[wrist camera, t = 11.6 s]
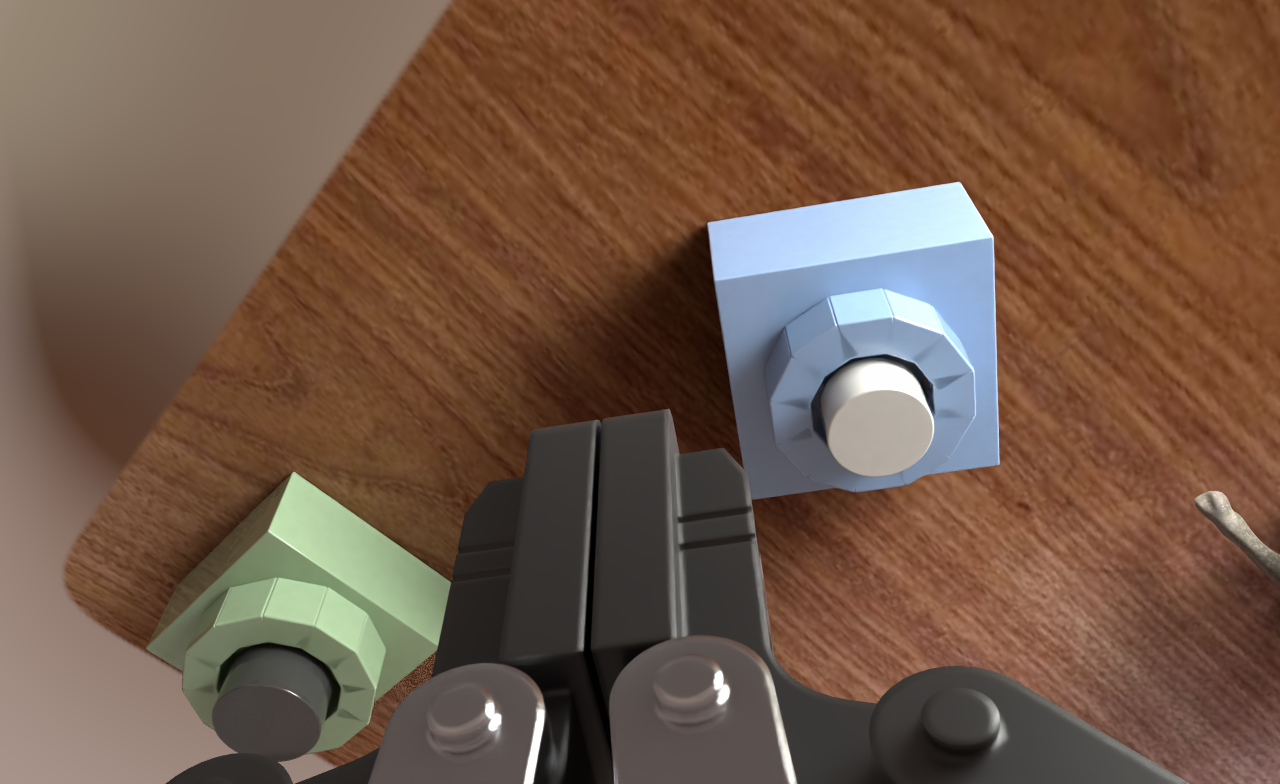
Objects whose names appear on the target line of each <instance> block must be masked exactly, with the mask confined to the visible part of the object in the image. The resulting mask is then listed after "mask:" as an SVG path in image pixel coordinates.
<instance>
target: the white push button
mask: <svg viewBox="0 0 1280 784" xmlns="http://www.w3.org/2000/svg"><path fill="white" fill-rule="evenodd" d="M820 414H821V418H822V423H823V427H824V431H825V435H826V439H827V444H828V447H829V450H830V452H831V454H832V456H833V457H834V459H835V460H836V461H837V462H838V463H839V464H840V465H841V466H843V467H844V468H845V469H847V470H849V471H851V472H853V473H855V474H858V475H862V476H868V477H883V476H889V475H893V474H896V473H899V472H901V471H904V470H906V469H907V468H909V467H911V466H912V465H914V464H915V463H916V462H917V461H918V460H920V459H921V457H922V456H923V455H924V454H925V453H926V451H927V450H928V448H929V446H930V444H931V441H932V438H933V434H934V420H933V417H932V414H931V411H930V408H929V406H928V403H927V400H926V398H925V395H924V393H923V390H922V387H921V385H920V383H919V381H918V379H917V377H916V376H915V374H914V373H913V372H912V371H911V370H910V369H908V368H907V367H906V366H904V365H902V364H901V363H899V362H896V361H894V360H890V359H885V358H866V359H861V360H858V361H855V362H852V363H850V364H848V365H846V366H844V367H843V368H841V369H840V370H838V371H837V372H836V373H835V374H834V375H833V376H832V377H831V378H830V379H829V381H828V382H827V384H826V385H825V387H824V389H823V391H822V394H821V398H820Z"/></svg>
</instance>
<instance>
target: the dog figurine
mask: <svg viewBox="0 0 1280 784" xmlns="http://www.w3.org/2000/svg"><path fill="white" fill-rule="evenodd" d="M1194 502H1195V504H1196V506H1197V508H1198V509H1199V511H1200V512H1201V513H1202V514H1203V515H1205V516H1206V517H1207V518H1208V519H1210V520H1211V521H1212V522H1213V523H1214V524H1215V525H1216V526H1217V527H1218V529H1219V530H1220V531H1221V532H1222V533H1223V535H1225V536H1226V537H1227V538H1228V539H1230V540H1231V541H1233V542H1234V543H1235V544H1236V545H1237V546H1239V547H1240V548H1241V549H1242V550H1243V551H1244V552H1245V553H1246V555H1247V556H1248V557H1249V558H1250V559H1251V560H1252V561H1253V562H1254V564H1255V565H1256V566H1257V567H1258V568H1259V569H1260V570H1261V571H1262V572H1263V573H1264V574H1265V575H1266V576H1267V577H1268V578H1269V579H1270V580H1271V581H1272V582H1273V583H1274V584H1275V585H1276V586H1277V587H1278V588H1279V589H1280V554H1278V553H1276V552H1274V551H1273V550H1271V549H1270V548H1268V547H1267V546H1266V545H1264V544H1263V543H1262V542H1261V541H1260V540H1259V539H1258V538H1257V537H1256V535H1255V534H1254V533H1253V532H1252V531H1251V530H1250V528H1249V527H1248V525H1247V524H1246V522H1245V521H1244V520H1243V518H1242V517H1241V516H1240V515H1239V514H1238V513H1236V512H1234V511H1233V510H1232V508H1231V506H1230V503H1229V501H1228V499H1227V497H1226V496H1225V495H1224V494H1223V493H1221V492H1218V491H1209V492H1205V493H1203V494H1201V495H1199V496H1198V497H1197V498H1195V499H1194Z"/></svg>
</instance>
